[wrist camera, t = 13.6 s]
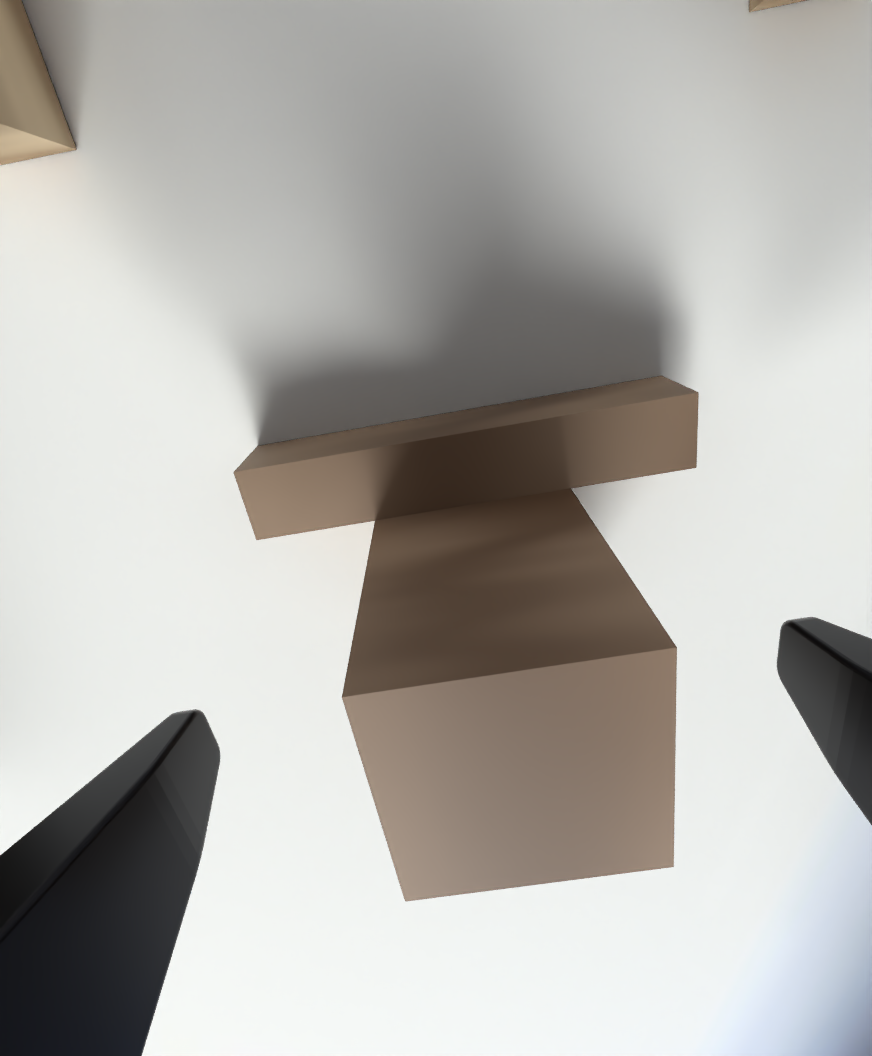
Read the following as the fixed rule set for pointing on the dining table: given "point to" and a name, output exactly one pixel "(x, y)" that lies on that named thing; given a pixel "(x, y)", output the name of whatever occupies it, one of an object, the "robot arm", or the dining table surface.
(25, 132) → the wooden blocks
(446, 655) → the brown t-shaped block
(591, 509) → the dining table surface
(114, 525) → the dining table surface
